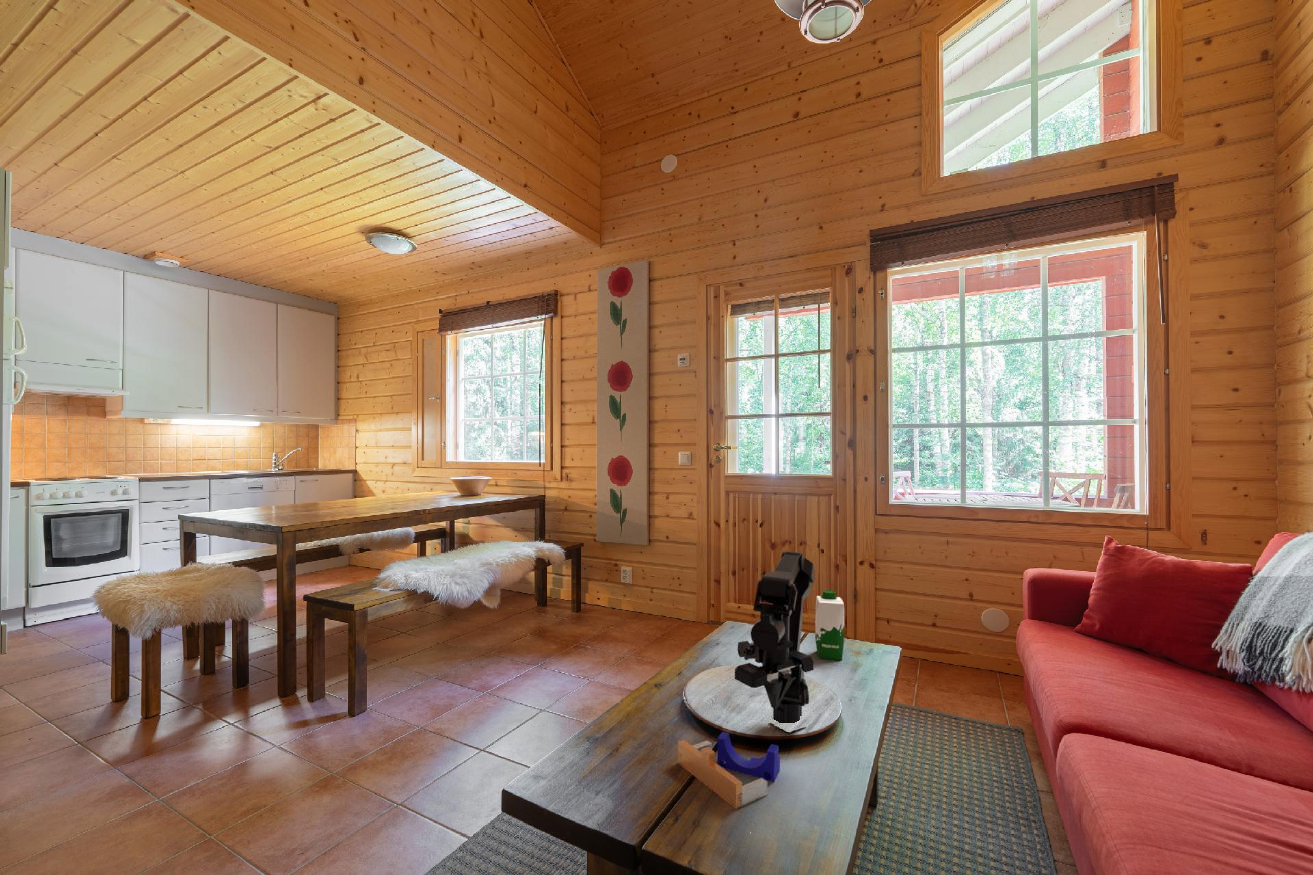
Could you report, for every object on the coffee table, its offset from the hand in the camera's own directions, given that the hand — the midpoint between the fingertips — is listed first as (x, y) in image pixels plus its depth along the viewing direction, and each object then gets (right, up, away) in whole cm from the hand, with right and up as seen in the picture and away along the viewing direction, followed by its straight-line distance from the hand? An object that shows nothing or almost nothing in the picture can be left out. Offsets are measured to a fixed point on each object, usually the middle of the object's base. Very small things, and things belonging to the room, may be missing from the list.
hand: (774, 707), depth 123 cm
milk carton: (+30, -12, +60) cm, 68 cm away
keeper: (-13, -10, -9) cm, 18 cm away
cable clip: (-6, -11, -5) cm, 13 cm away
